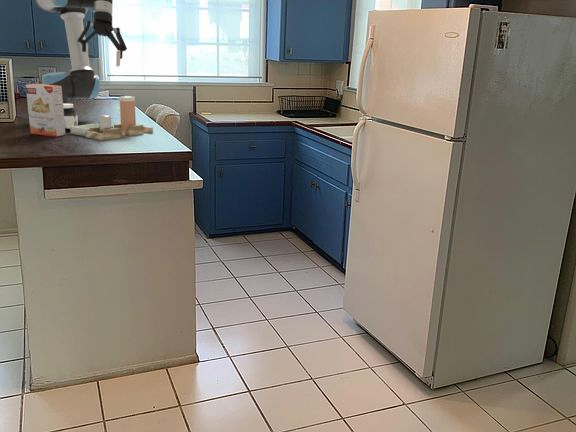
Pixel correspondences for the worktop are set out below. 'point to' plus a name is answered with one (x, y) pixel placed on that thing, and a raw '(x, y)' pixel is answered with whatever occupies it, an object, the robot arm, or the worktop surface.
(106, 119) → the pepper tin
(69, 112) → the spread jar
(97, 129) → the wooden blocks
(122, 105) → the lidded box
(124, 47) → the robot arm
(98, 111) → the worktop surface
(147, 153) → the worktop surface
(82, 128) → the tray
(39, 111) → the cracker box
